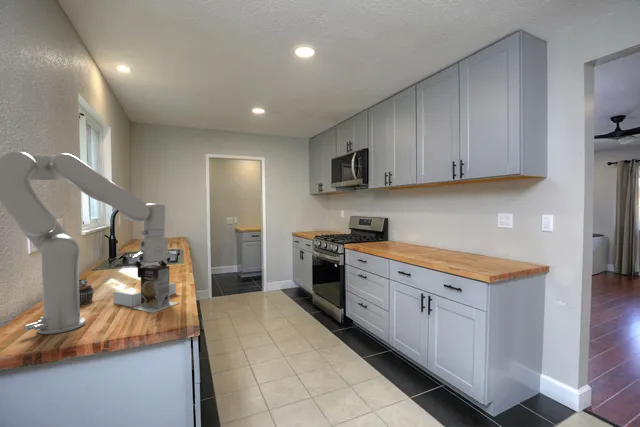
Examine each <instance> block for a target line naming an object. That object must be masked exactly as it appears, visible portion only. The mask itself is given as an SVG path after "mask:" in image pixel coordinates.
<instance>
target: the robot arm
mask: <svg viewBox="0 0 640 427" xmlns="http://www.w3.org/2000/svg"><path fill="white" fill-rule="evenodd" d="M59 180H62V181H65V182H66V183H67V184H69V185H71V186H73V187H74V188H75V189H77V190H79V191H80V192H82V193H83V194H85V195H87V196H88V197H89V198H92V199H93V200H95V201H98V202H102V203H104V204H106V205H108V206H110V207H112V208H114V209H116V210H118V212H120V215H121V217H122V218H123V219H124V220H127V221H130V222H143V230H142V231H141V234H140V235H142V237H141V239H140V245H139V252H138V253H136V254H134V256H131V260H132V262H133V264H134V265H135V267H136V268H137V277H138V278H140V279H141V278H144V277H145V268H143V267H144V266H145V264H146V263H147V262H148V263H151V262H160V263H159V265H160V266H168V264H169V262H170V261H171V258H172V256H173V253H172V252H171V251H169V250H168V249H169V248H168V240H167V236H165V232H166V231H165V227H166V206H165V205H164V204H163V203H145V202H144V201H142V200H141V199H139V198H138V197H137V195H134V194H132V193H131V192H129V191H128V190H126V189H125V188H124V187H122V186H120V185H118V184H117V183H115V182H113V181H112V180H110V179H108V178H107V177H105V176H103V175H102V174H101V173H99V172H98V171H96V170H95V169H93V168H92V167H91V166H90V165H88V164H86V163H85V162H84V161H83V160H81V159H79V157H77V156H75V155H72V154H70V153H66V152H65V153H63V152H62V153H58V154H56V155H30V154H29V153H26V152H23V151H19V150H18V151H17V150H16V151H15V150H13V151H8V152H6V153H4V154H3V155H2V156H0V203H1V204H2V206H3V208H4V209H5V210H6V211H7V212H8V214H9V215H10V216H11V217H12V218H13V220H14V221H15V222H16V224H17V227H18V228H19V229H20V231H21V232H22V233H23V234H24V235H25V236H26V238H28V240H29V241H30V243H32V245H33V246H34V247H35V248H36V249H37V251H38V252H39V253H40V254H41V282H42V283H41V284H42V308H43V309H42V312H43V316H41V317H39V319H38V320H36V322H32V323H28V324H25V325H24V327H23V330H24V331H25V332H28V331H31V330H34V331H37V333H38V334H40V335H54V334H55V335H56V334H60V333H65V332H69V331H73V330H76V329H78V328H80V327H82V326H84V325H85V324H86V322H87V321H86V318H85V317H81V311H80V310H81V307H80V300H79V280H80V274H79V272H80V268H79V266H80V246H79V243H78V242H77V241H76V239H74V238H73V237H72V236H70V235H69V234H68V233H67V231H65V229H64V228H63V227H62V226H61V224H60V223H59V222H58V220H57V218H56V215H55V214H54V213H53V212H52V211H51V210H50V209H49V208H48V207H47V205H46V204H45V203H44V201H42V199H41V198H40V197H39V196H38V194H37V192H36V191H35V190H34V189H33V187H32V184H31V181H59Z"/></svg>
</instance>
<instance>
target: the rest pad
mask: <svg viewBox="0 0 640 427" xmlns="http://www.w3.org/2000/svg"><path fill="white" fill-rule="evenodd" d="M169 303H170V304H169V305H166V306H163V307H161V308H158V309H157V308H150V307H143V306H141V305H138V306H135V307H131V308H132V309H133V310H138V311H142V312H146V313H152V314H154V313H156V312H160V311H163V310H165V309H168V308H171V307H174V306H176V304H177V305H179V304H180V303H179V302H175V301H171V300H169Z"/></svg>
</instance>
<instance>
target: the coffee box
mask: <svg viewBox="0 0 640 427" xmlns="http://www.w3.org/2000/svg"><path fill="white" fill-rule="evenodd" d="M143 268H145V277H144V278H140V292H141V306H143V307H150V308H157V309H158V308H161V307H163V306H166V305H169V304H170V303H169V301H170V295H169V284H170V266H168V265H167V266H160V264H159V265H150V266H144V267H143Z"/></svg>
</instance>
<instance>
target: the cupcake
mask: <svg viewBox="0 0 640 427" xmlns="http://www.w3.org/2000/svg"><path fill="white" fill-rule="evenodd" d="M88 282H89V280H88V279H87V278H84V277H83V278H82V279H79V300H80V305H85V304H86V305H87V304H89V303H91V302H93V297H94V291H95V289H94V287H92V284H91V283H88Z"/></svg>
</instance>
